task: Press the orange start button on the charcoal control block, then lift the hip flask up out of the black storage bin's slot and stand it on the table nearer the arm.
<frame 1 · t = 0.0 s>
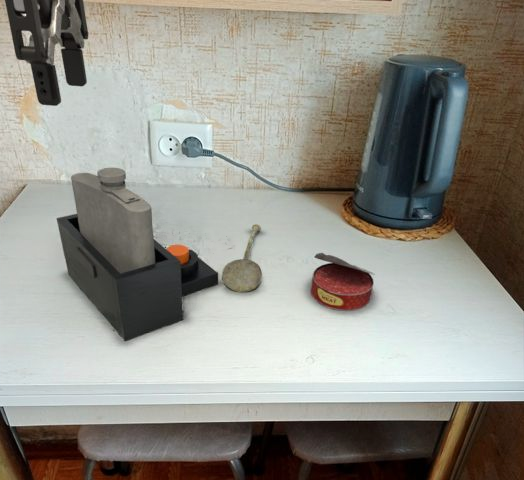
hand: (64, 94, 57), 30 cm above the table, tool pointing down, fingers open, 8 cm apart
soupspoon: (248, 260, 91), on the table
control panel: (178, 278, 85), on the table
canned food: (340, 294, 84), on the table
black storage bin: (123, 296, 80), on the table
start button: (177, 254, 82), point 4 cm above the table, slide at 0.1 cm
hip flask: (125, 300, 79), resting in black storage bin
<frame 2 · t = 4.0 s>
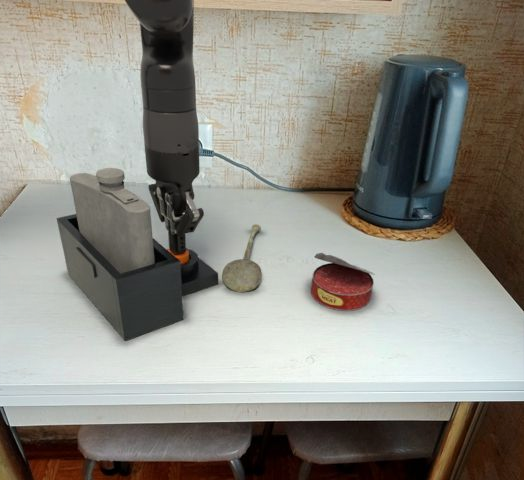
hand: (178, 252, 82), 5 cm above the table, tool pointing down, fingers closed
start button: (177, 257, 82), point 4 cm above the table, slide at -0.4 cm, touching gripper
everything else where it was.
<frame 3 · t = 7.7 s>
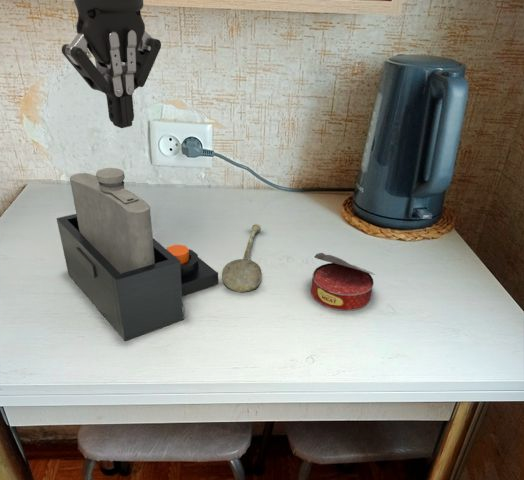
hand: (122, 125, 65), 25 cm above the table, tool pointing down, fingers closed
start button: (177, 254, 82), point 4 cm above the table, slide at 0.1 cm
everything else where it was.
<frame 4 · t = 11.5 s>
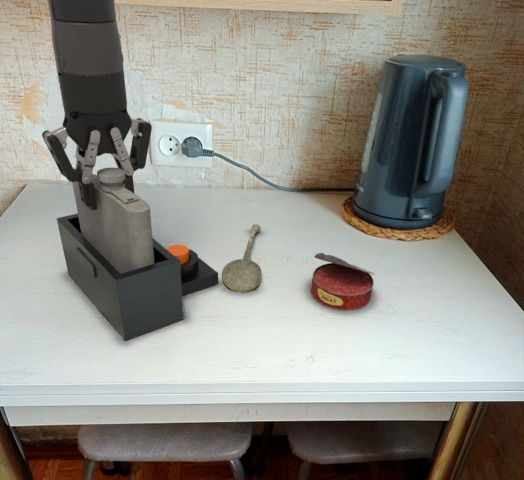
hand: (109, 203, 70), 15 cm above the table, tool pointing down, fingers closed on hip flask, 4 cm apart
hip flask: (125, 300, 79), resting in black storage bin, touching gripper
everything else where it was.
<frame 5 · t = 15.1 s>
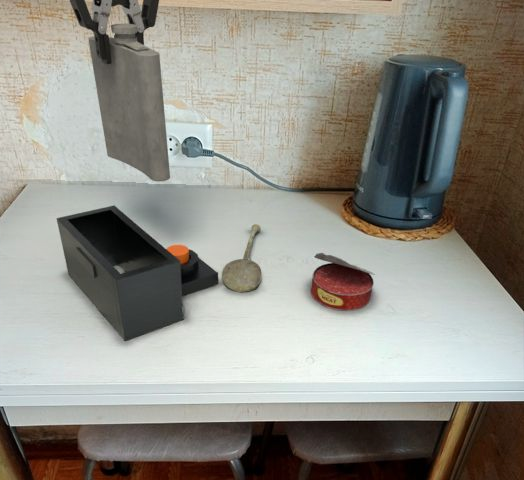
hand: (121, 61, 75), 29 cm above the table, tool pointing down, fingers closed on hip flask, 4 cm apart
hip flask: (140, 166, 85), point 14 cm above the table, touching gripper
everything else where it was.
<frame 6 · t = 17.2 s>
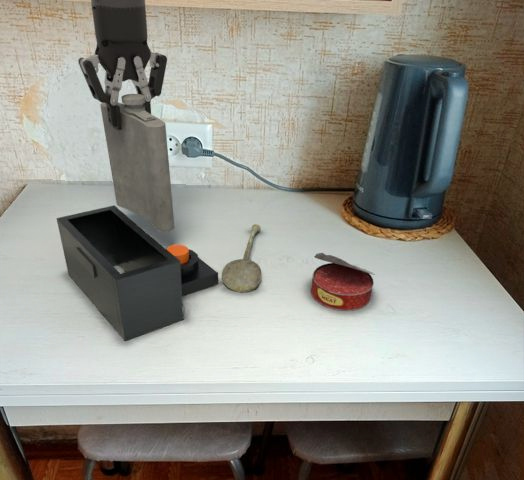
hand: (130, 126, 83), 19 cm above the table, tool pointing down, fingers closed on hip flask, 4 cm apart
hip flask: (146, 215, 93), point 4 cm above the table, touching gripper
everything else where it was.
when the fingers open (15 cm above the table, at t = 18.7 s): hip flask stays where it is, on the table.
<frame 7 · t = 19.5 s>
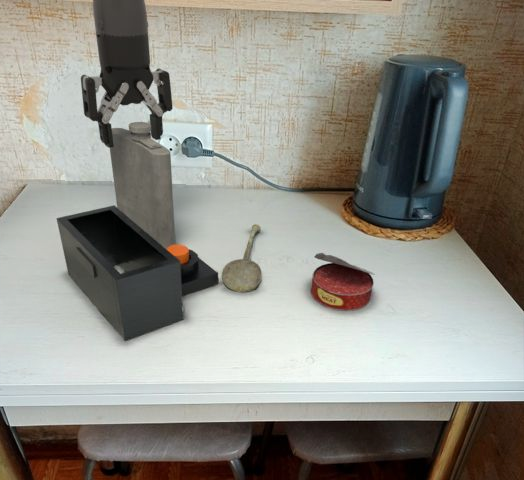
hand: (133, 142, 85), 17 cm above the table, tool pointing down, fingers open, 8 cm apart
hip flask: (148, 237, 96), on the table
everything else where it was.
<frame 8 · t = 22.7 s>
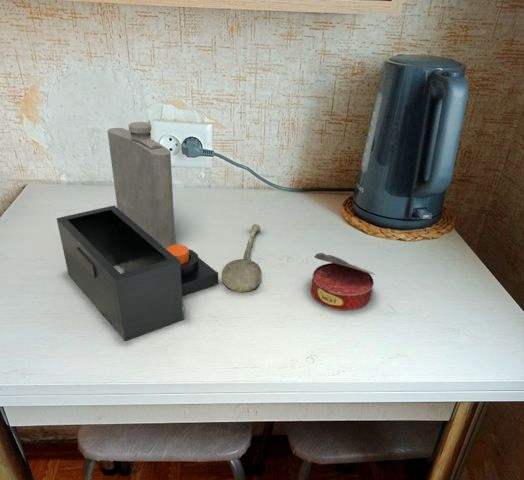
nothing on the table moved.
at the end: start button pushed in 1.1 cm at the most during the clip, back to where it started at the end; hip flask inside the target area (1.3 cm from its centre), on the table; hip flask tilted 0° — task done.
